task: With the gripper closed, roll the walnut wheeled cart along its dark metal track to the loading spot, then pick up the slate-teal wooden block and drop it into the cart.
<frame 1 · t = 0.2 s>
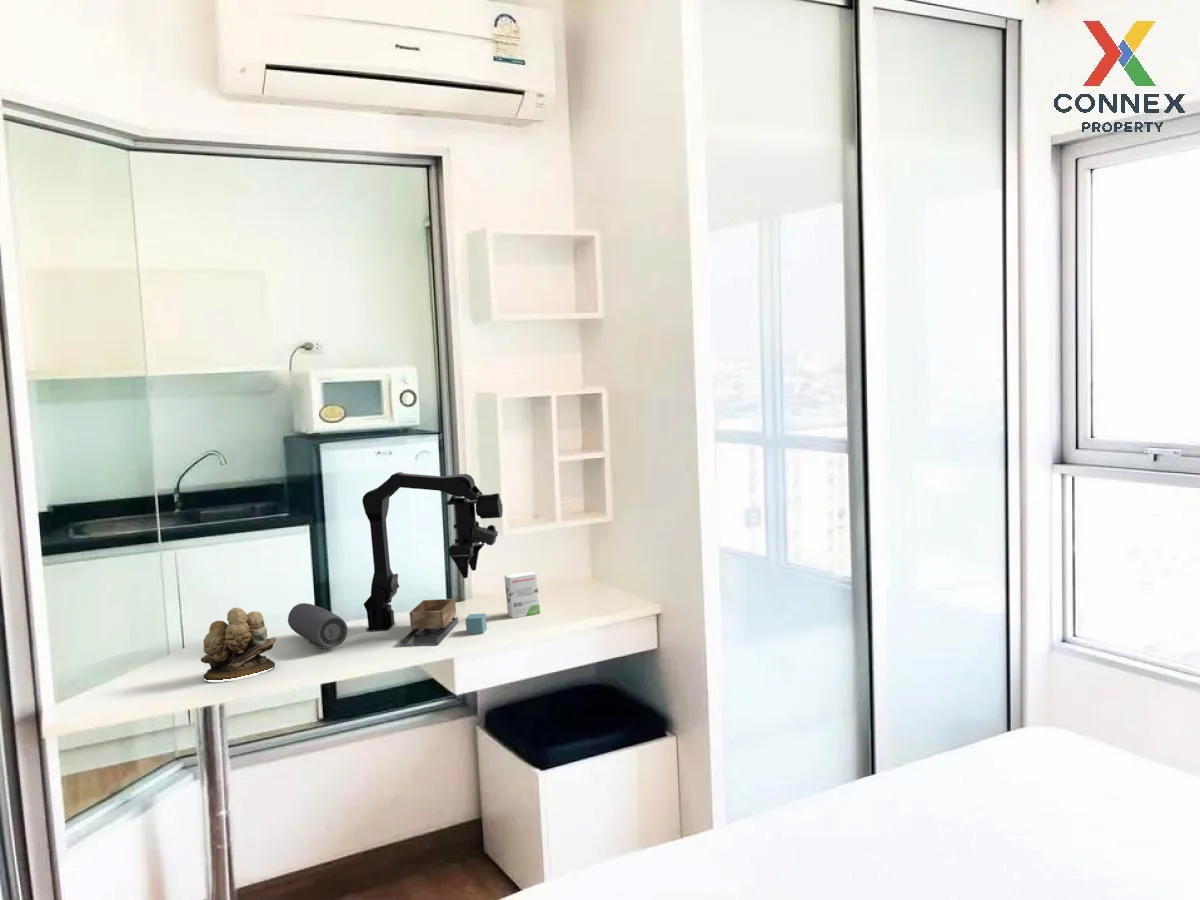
hand: (469, 574, 272), 14 cm above the table, tool pointing down, fingers open, 9 cm apart
bluetooth speaker: (319, 644, 264), on the table
cart: (433, 615, 269), point 4 cm above the table, slide at 0.0 cm
track: (430, 634, 265), on the table
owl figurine: (241, 673, 243), on the table
part block: (477, 632, 264), on the table
ink box: (523, 614, 279), on the table
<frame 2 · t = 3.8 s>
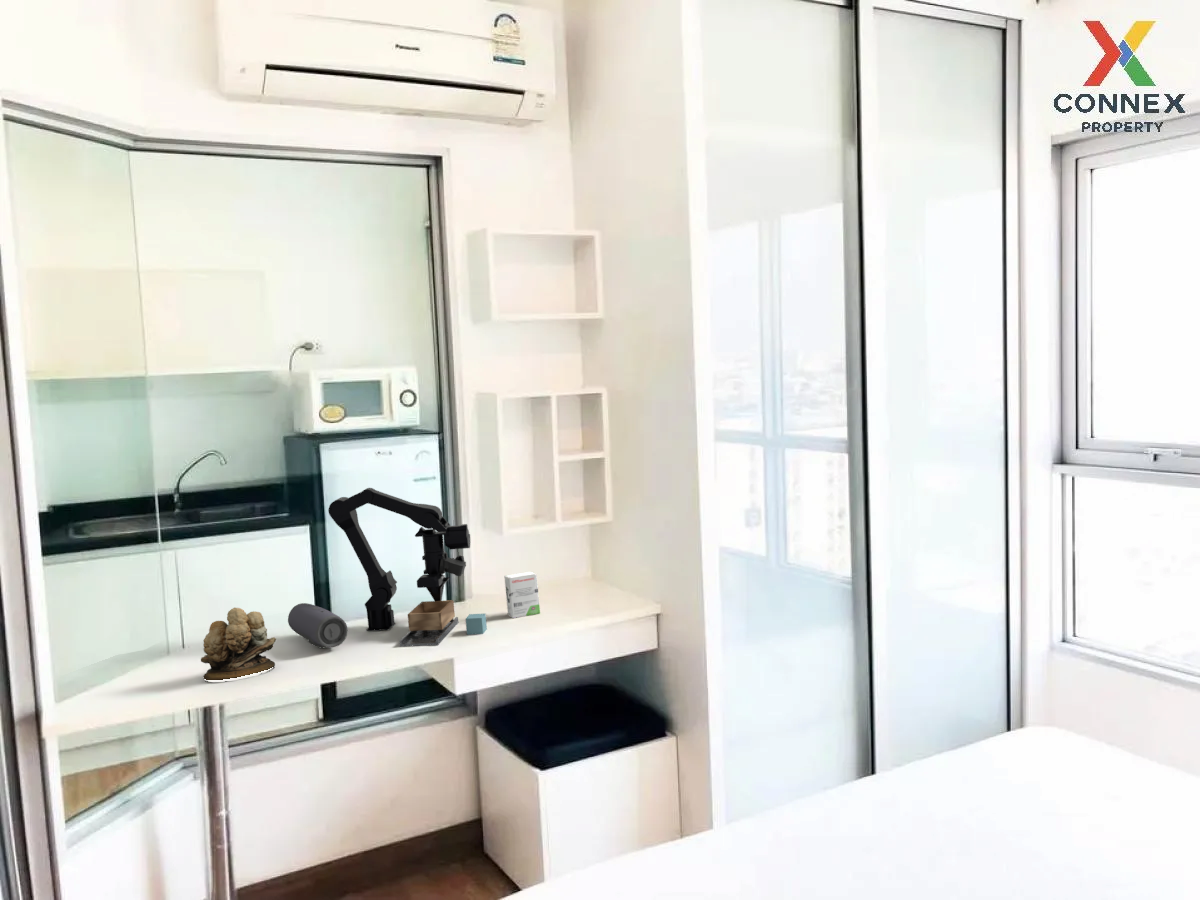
hand: (438, 604, 275), 5 cm above the table, tool pointing down, fingers closed
cart: (431, 617, 268), point 4 cm above the table, slide at 1.6 cm, touching gripper
everything else where it was.
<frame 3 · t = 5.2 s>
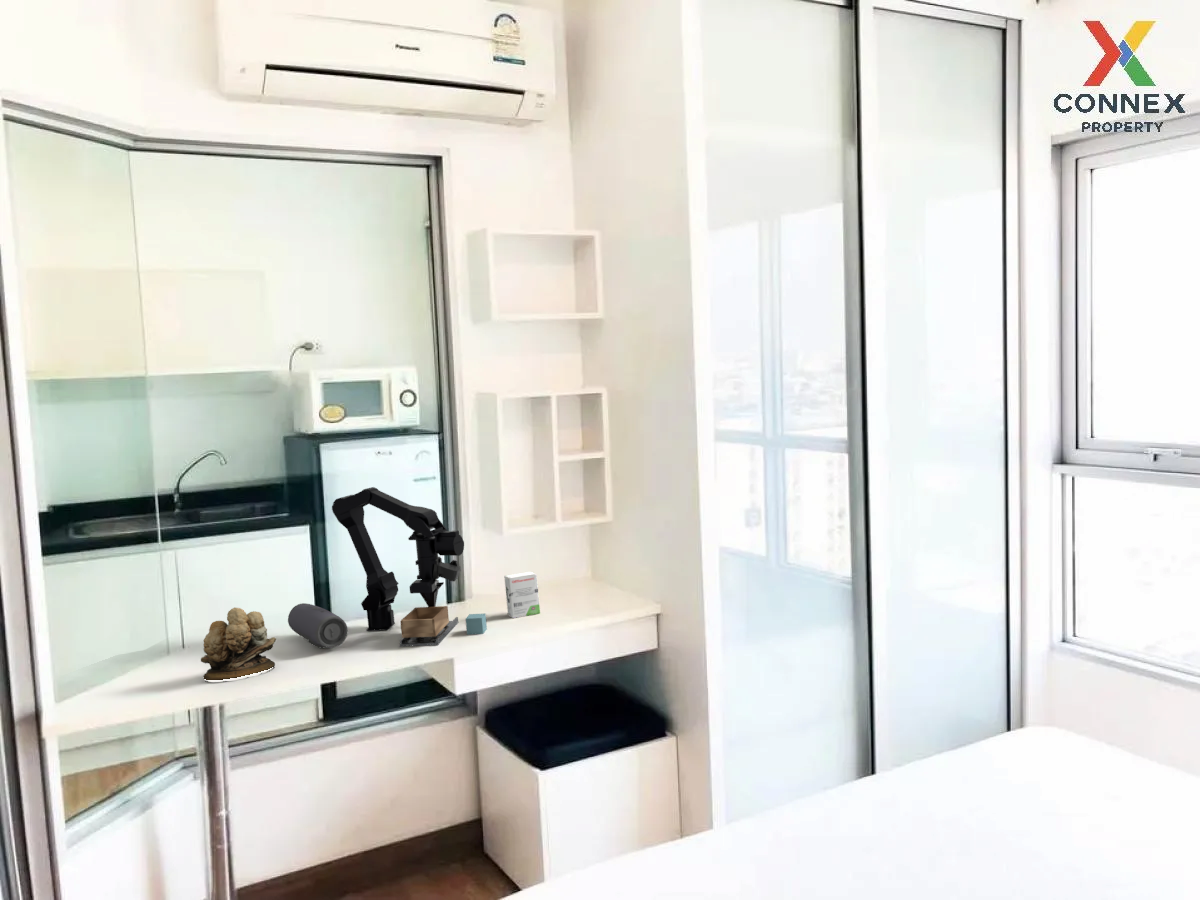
hand: (432, 610, 269), 6 cm above the table, tool pointing down, fingers closed
cart: (425, 623, 262), point 4 cm above the table, slide at 7.8 cm, touching gripper
everything else where it was.
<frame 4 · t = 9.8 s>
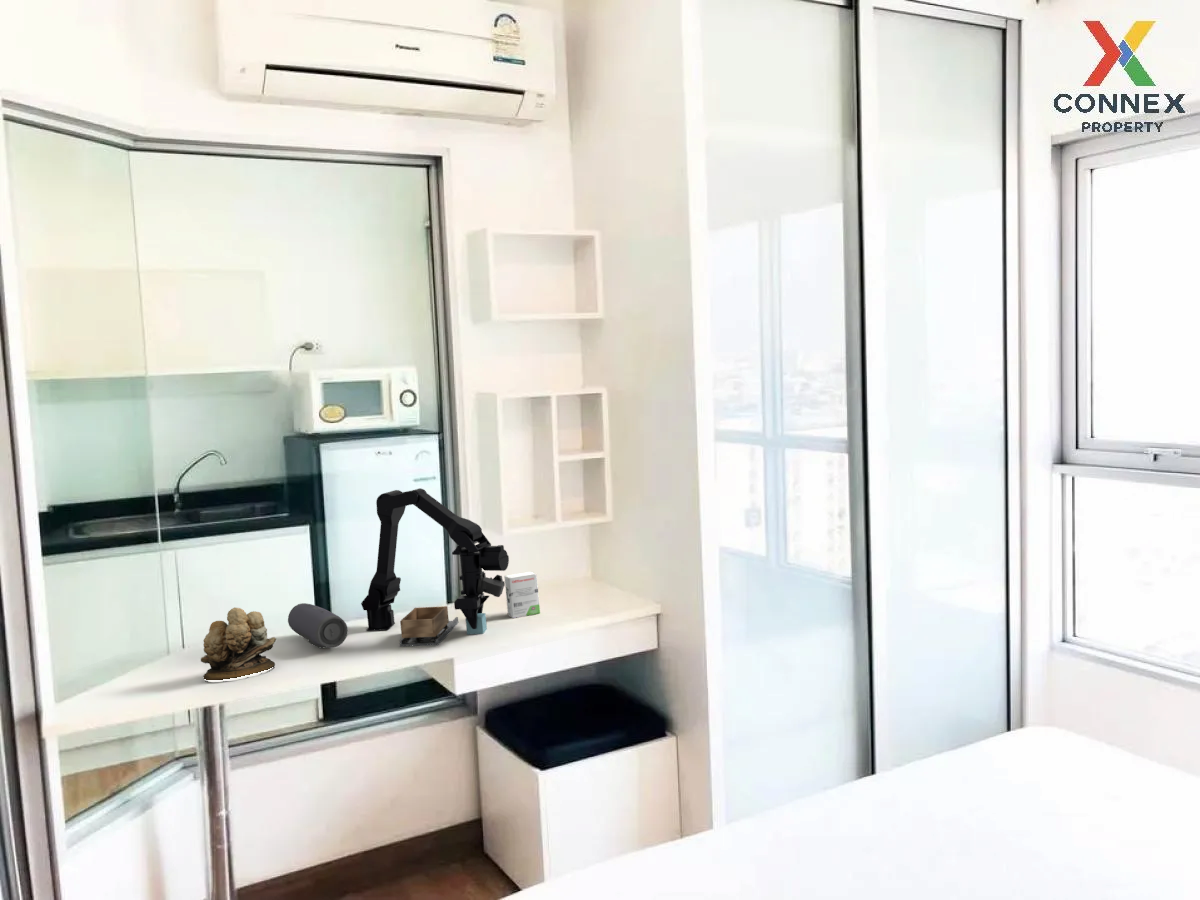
hand: (476, 626, 264), 2 cm above the table, tool pointing down, fingers closed on part block, 4 cm apart
cart: (425, 623, 261), point 4 cm above the table, slide at 8.0 cm
part block: (476, 631, 264), on the table, touching gripper
everything else where it was.
when the fingers open (6 cm above the table, at t = 13.6 s): part block drops 2 cm, resting on cart.
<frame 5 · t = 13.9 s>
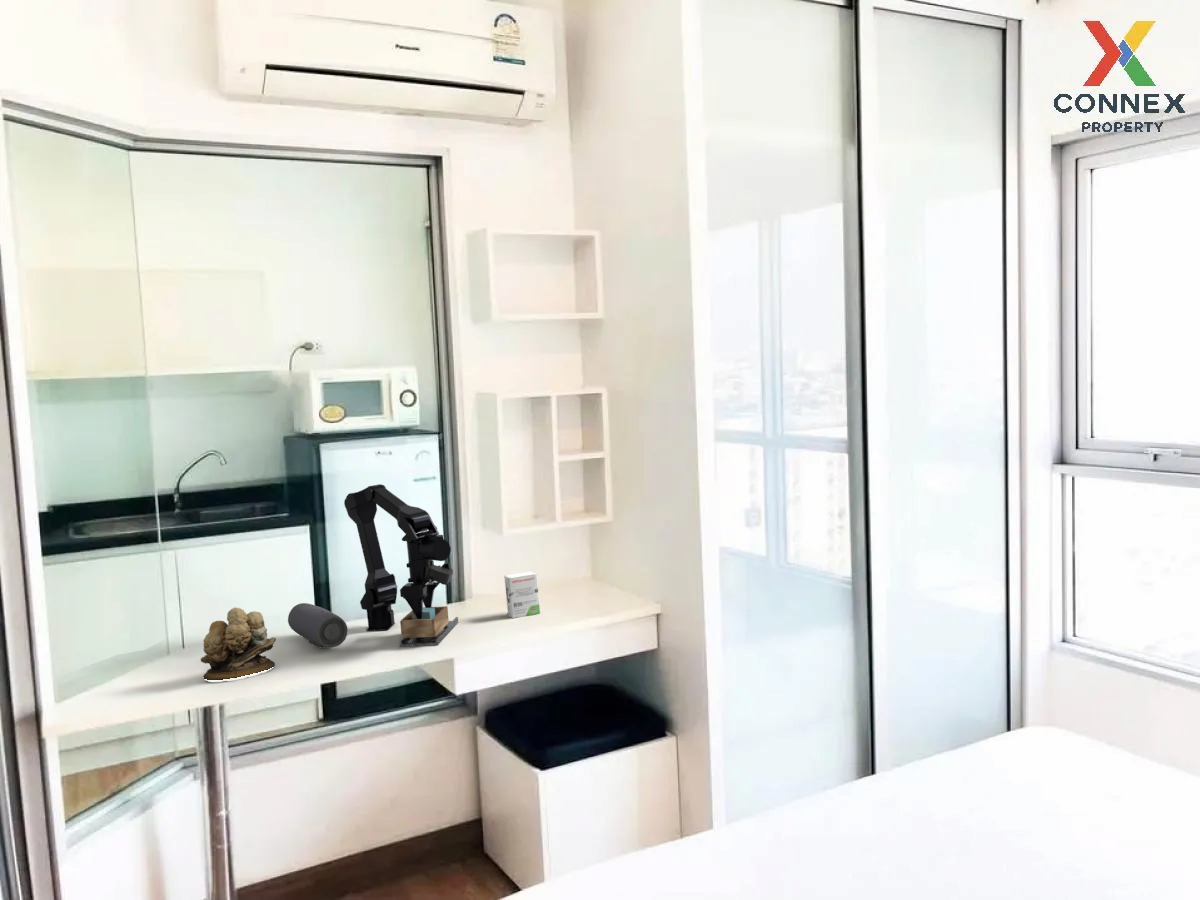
hand: (424, 614, 261), 6 cm above the table, tool pointing down, fingers open, 8 cm apart
cart: (425, 623, 261), point 4 cm above the table, slide at 8.1 cm, touching part block
part block: (425, 626, 262), point 3 cm above the table, touching cart
everything else where it was.
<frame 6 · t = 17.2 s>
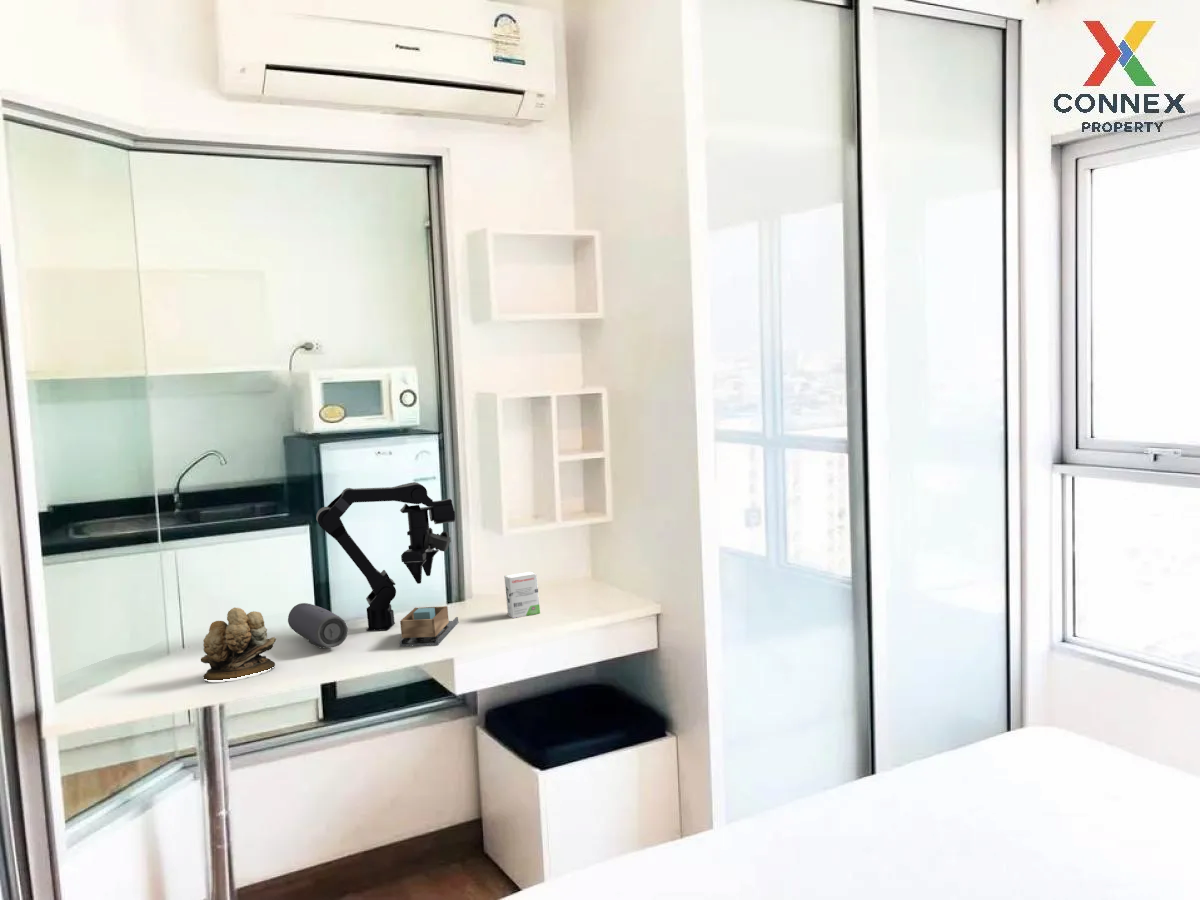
hand: (423, 579, 279), 12 cm above the table, tool pointing down, fingers open, 9 cm apart
nothing on the table moved.
at the end: cart slide at 8.1 cm; part block 0.1 cm off-centre on the cart, point 3.2 cm above the cart's base; the gripper is holding nothing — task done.
